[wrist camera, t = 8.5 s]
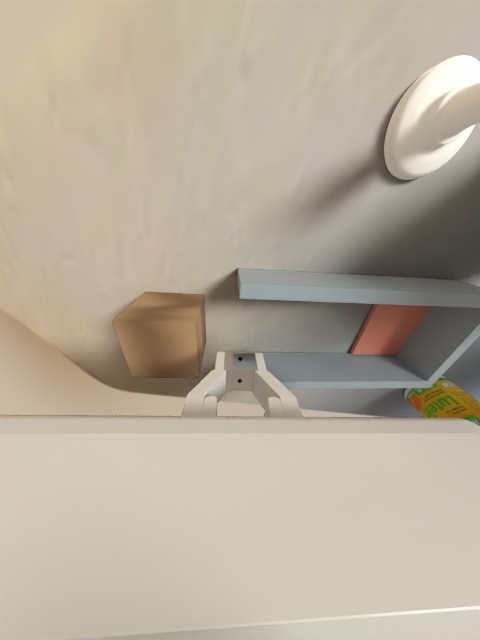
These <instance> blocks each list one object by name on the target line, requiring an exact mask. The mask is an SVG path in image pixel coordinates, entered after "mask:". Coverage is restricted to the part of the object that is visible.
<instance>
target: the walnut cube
mask: <svg viewBox="0 0 480 640" xmlns="http://www.w3.org/2000/svg"><path fill="white" fill-rule="evenodd" d="M112 323H113V326H114V329H115V332H116V335H117V337H118V340H119V343H120V346H121V348H122V351H123V354H124V357H125V360H126V362H127V365H128V368H129V371H130V374H131V376H132V377H150V378H199V374H200V369H201V363H202V358H203V353H204V348H205V343H206V324H205V295H203V294H181V293H160V292H145V293H144V294H143V295H141V296H140V297H139V298H138V299H137V300H136V301H134V302H133V303H132V304H131V305H130V306H129V307H127V308H126V309H125V310H124V311H123V312H121V313H120V314H119V315H118V316H117V317H116V318H114V319H113V320H112Z"/></svg>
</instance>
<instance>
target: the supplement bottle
mask: <svg viewBox="0 0 480 640" xmlns="http://www.w3.org/2000/svg"><path fill="white" fill-rule="evenodd" d="M404 396H405V398H406V399H407V400H408V401H409V402H410V403H411V404H412V405H413V406H414V407H415V408H416V409H417V410H418V411H419V412H420V413H421V414H422V415H423V416H424V417H425V418H461V419H466V420H469V421H471V422H473V423H475V424H477V425H479V426H480V402H479V401H477V400H476V399H474V398H473V397H472V396H470V395H469V394H468V393H466V392H465V391H463V390H462V389H461V388H459V387H458V386H457V385H455V384H454V383H452V382H451V381H450V380H448V379H447V378H445V377H443V376H441V377H440V378H439V379H438V380H437V381H436V382H435V383H434V384H433V385H432V386H431V387H430V388H406V389H405V391H404Z"/></svg>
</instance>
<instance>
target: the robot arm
mask: <svg viewBox="0 0 480 640" xmlns="http://www.w3.org/2000/svg"><path fill="white" fill-rule="evenodd" d="M225 391H252V393H253V394H254V396H255V397H256V398H257V400H258V401H259V403H260V404H261V406H262V407H263V408H264V410H265V413H264V416H263V417H234V416H232V417H231V416H226V417H225V416H217V403H218V402H219V400H220V399H221V397H222V396H223V394H224V393H225ZM0 640H480V426H479V425H477V424H475V423H473V422H471V421H469V420H466V419H461V418H383V417H303V416H302V413H301V410H300V407H299V404H298V401H297V399H296V397H295V396H294V395H293V394H292V393H291V392H290V391H289V390H288V389H287V388H286V387H285V386H284V385H283V384H282V383H281V382H280V381H279V380H278V379H276V378H275V377H274V376H273V375H272V374H271V373H270V372H269V371H266V366H265V362H264V357H263V353H248V352H222V351H217V355H216V363H215V370H212V371H211V372H210V373H209V374H208V375H207V376H206V377H205V378H204V379H203V380H202V381H201V382H200V383H199V384H198V385H197V386H196V387H195V388H194V389H193V390H192V391H191V392H190V393H189V394H188V395H187V397H186V401H185V405H184V408H183V412H182V415H181V416H86V415H84V416H82V415H79V416H78V415H0Z"/></svg>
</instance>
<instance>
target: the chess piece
mask: <svg viewBox="0 0 480 640" xmlns="http://www.w3.org/2000/svg"><path fill="white" fill-rule="evenodd" d="M478 122H480V62H479V61H478V60H476V59H475V58H473V57H471V56H467V55H460V56H455V57H452V58H449V59H447V60H445V61H443V62H441V63H440V64H438V65H436V66H434V67H432V68H431V69H429V70H428V71H426V72H425V73H424V74H422V75H421V76H420V77H419V78H418V79H417V80H416V81H415V82H414V83H413V84H412V85H411V86H410V87H409V89H408V90H407V91H406V92H405V94H404V95H403V97H402V98H401V100H400V101H399V103H398V105H397V107H396V108H395V110H394V112H393V115H392V117H391V119H390V122H389V125H388V128H387V131H386V136H385V142H384V158H385V163H386V166H387V168H388V170H389V171H390V173H391V174H392V175H393V176H395V177H396V178H398V179H402V180H412V179H416V178H419V177H421V176H423V175H426V174H429V173H431V172H433V171H435V170H436V169H438V168H439V167H441V166H442V165H444V164H445V163H446V162H447V161H448V160H449V159H451V158H452V157H453V156H454V155H455V153H456V152H457V151H458V150H459V149H460V148H461V146H462V145H463V144H464V142H465V141H466V140H467V138H468V137H469V135H470V133H471V132H472V130H473V128H474V126H475V124H476V123H478Z"/></svg>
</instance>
